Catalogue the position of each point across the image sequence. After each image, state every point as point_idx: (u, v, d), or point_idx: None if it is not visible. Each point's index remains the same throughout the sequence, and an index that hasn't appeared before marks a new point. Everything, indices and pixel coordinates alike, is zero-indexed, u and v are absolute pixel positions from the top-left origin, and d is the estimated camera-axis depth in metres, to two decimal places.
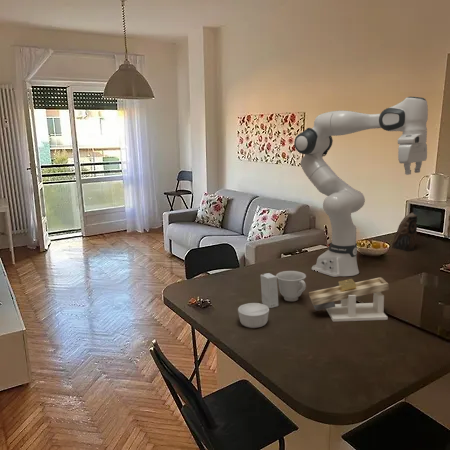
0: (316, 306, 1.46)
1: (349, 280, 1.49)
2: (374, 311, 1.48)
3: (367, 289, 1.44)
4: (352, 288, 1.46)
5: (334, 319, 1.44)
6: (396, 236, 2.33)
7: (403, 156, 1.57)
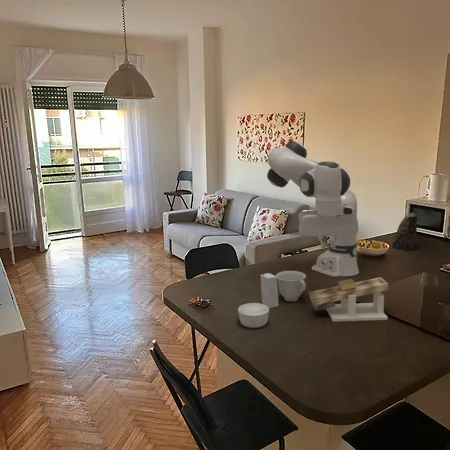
0: (316, 306, 1.46)
1: (349, 280, 1.49)
2: (374, 311, 1.48)
3: (367, 289, 1.44)
4: (352, 288, 1.46)
5: (334, 319, 1.44)
6: (396, 236, 2.33)
7: None
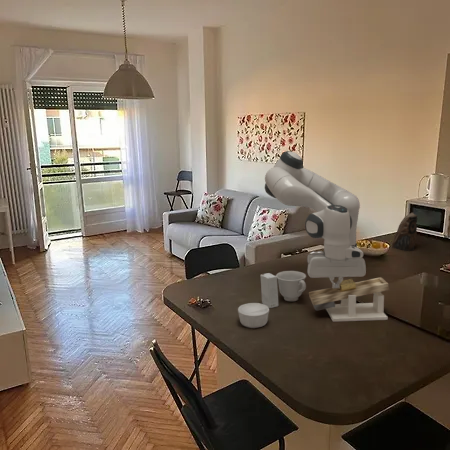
0: (316, 306, 1.46)
1: (349, 280, 1.49)
2: (374, 311, 1.48)
3: (367, 289, 1.44)
4: (352, 288, 1.46)
5: (334, 319, 1.44)
6: (396, 236, 2.33)
7: None
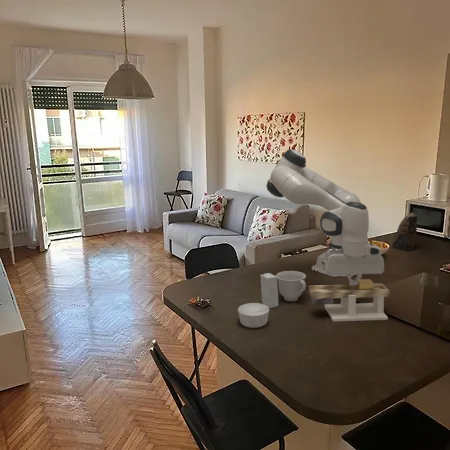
0: (315, 300, 1.46)
1: (367, 280, 1.49)
2: (374, 311, 1.48)
3: (368, 292, 1.45)
4: (369, 288, 1.46)
5: (334, 319, 1.44)
6: (396, 236, 2.33)
7: None
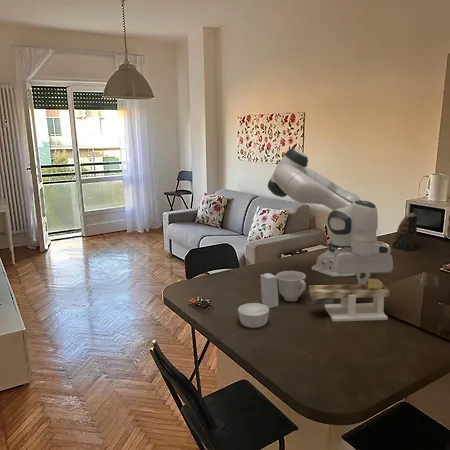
0: (315, 300, 1.46)
1: (376, 279, 1.48)
2: (374, 311, 1.48)
3: (368, 292, 1.45)
4: (378, 288, 1.46)
5: (334, 319, 1.44)
6: (396, 236, 2.33)
7: None
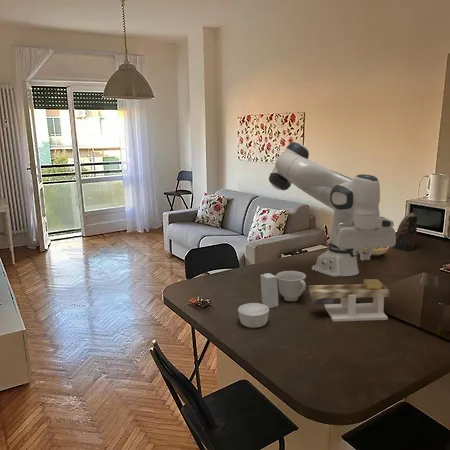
0: (315, 300, 1.46)
1: (375, 279, 1.48)
2: (374, 311, 1.48)
3: (368, 292, 1.45)
4: (377, 288, 1.46)
5: (334, 319, 1.44)
6: (396, 236, 2.33)
7: None
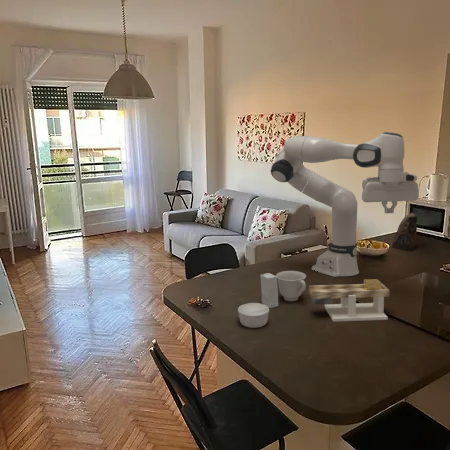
0: (315, 300, 1.46)
1: (375, 279, 1.48)
2: (374, 311, 1.48)
3: (368, 292, 1.45)
4: (377, 288, 1.46)
5: (334, 319, 1.44)
6: (396, 236, 2.33)
7: None
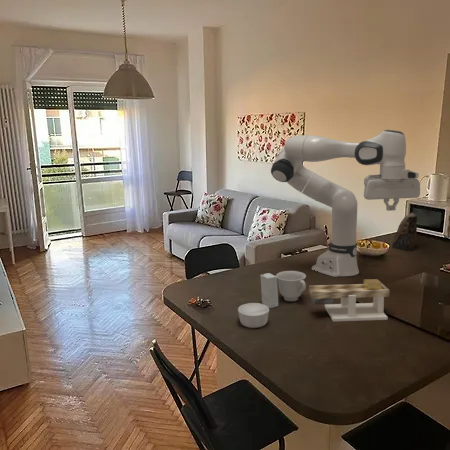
0: (315, 300, 1.46)
1: (375, 279, 1.48)
2: (374, 311, 1.48)
3: (368, 292, 1.45)
4: (377, 288, 1.46)
5: (334, 319, 1.44)
6: (396, 236, 2.33)
7: None
